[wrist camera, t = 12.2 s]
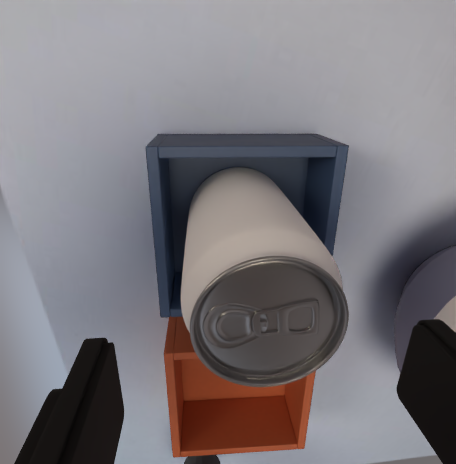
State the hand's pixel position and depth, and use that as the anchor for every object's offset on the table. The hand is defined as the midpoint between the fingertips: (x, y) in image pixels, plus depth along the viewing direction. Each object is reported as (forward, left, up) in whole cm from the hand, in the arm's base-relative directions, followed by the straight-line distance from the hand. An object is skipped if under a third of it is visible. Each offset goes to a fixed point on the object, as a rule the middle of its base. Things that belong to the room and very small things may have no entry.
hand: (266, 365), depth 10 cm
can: (0, 0, -14) cm, 14 cm away
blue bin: (0, 0, -14) cm, 14 cm away
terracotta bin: (0, -13, -14) cm, 19 cm away
